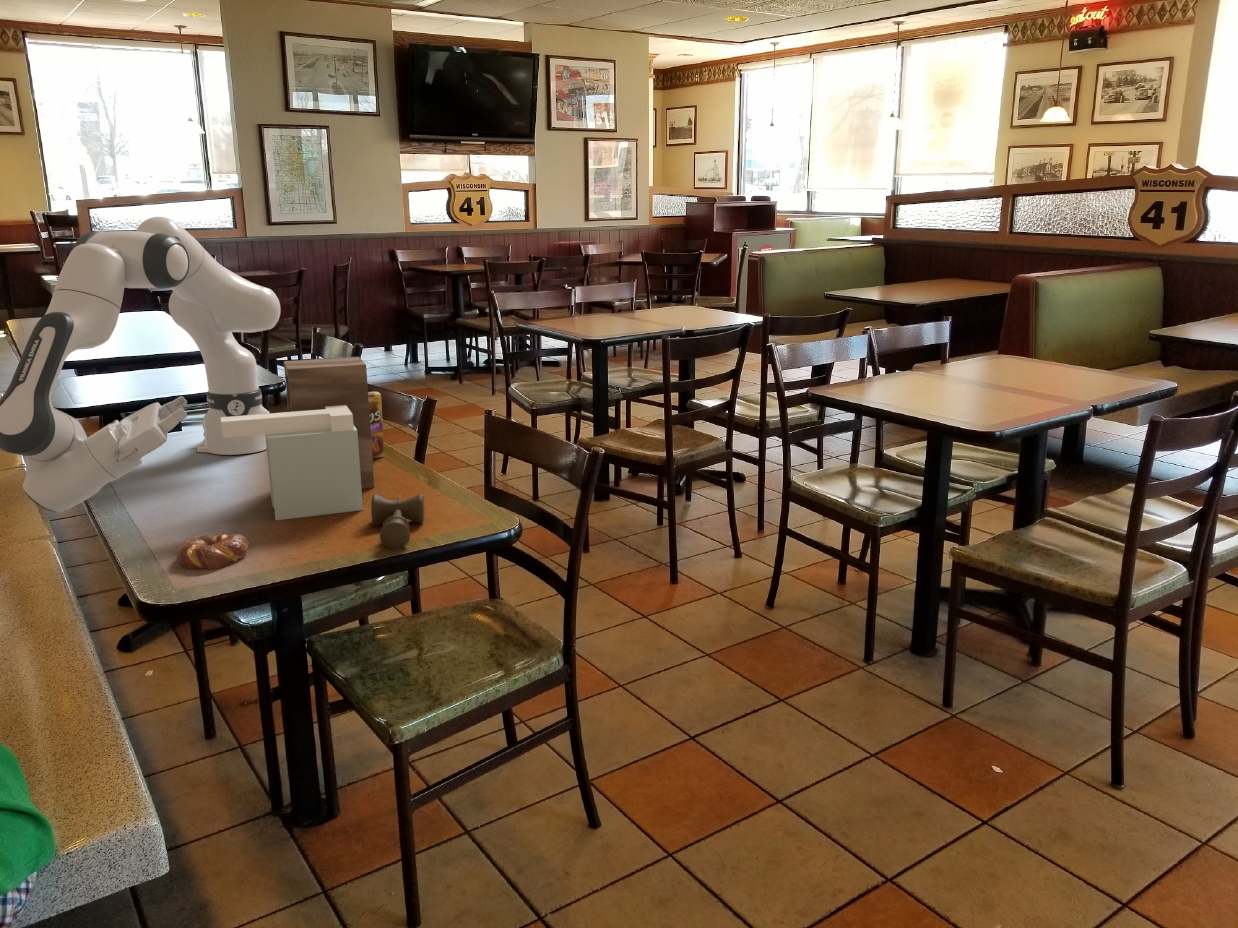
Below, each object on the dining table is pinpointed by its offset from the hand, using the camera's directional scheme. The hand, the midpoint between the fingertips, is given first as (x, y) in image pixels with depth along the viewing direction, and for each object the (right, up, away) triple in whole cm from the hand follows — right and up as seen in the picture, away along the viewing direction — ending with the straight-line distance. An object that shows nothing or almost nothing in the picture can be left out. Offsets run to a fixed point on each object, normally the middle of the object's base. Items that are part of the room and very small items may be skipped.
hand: (185, 405), depth 172 cm
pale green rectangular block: (+20, -19, +13) cm, 30 cm away
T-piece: (+16, -4, +6) cm, 18 cm away
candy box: (+20, -10, +47) cm, 52 cm away
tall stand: (+19, -15, +27) cm, 36 cm away
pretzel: (+11, -27, -13) cm, 32 cm away
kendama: (+39, -23, +1) cm, 45 cm away
